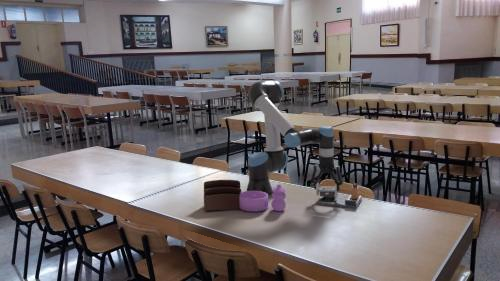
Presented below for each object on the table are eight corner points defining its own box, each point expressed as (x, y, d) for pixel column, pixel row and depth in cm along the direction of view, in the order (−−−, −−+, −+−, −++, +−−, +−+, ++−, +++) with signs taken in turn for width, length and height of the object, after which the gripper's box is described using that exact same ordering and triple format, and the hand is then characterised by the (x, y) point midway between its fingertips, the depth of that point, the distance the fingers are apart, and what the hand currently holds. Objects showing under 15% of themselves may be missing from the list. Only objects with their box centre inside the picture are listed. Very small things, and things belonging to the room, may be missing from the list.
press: (318, 204, 216) (318, 197, 216) (325, 196, 230) (325, 189, 229) (356, 208, 208) (356, 201, 207) (361, 199, 221) (361, 192, 220)
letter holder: (203, 204, 221) (203, 179, 219) (240, 203, 224) (240, 178, 221) (204, 211, 211) (203, 184, 209) (242, 209, 214) (242, 183, 212)
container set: (234, 209, 211) (234, 184, 209) (244, 200, 225) (245, 177, 223) (281, 215, 203) (282, 189, 201) (289, 205, 217) (289, 181, 215)
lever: (351, 198, 218) (351, 184, 217) (352, 196, 221) (352, 183, 220) (357, 199, 217) (357, 185, 216) (358, 197, 220) (358, 183, 218)
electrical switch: (317, 190, 220) (319, 183, 229) (318, 198, 222) (320, 191, 230) (335, 190, 218) (336, 183, 226) (335, 199, 219) (337, 192, 228)
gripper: (304, 155, 218) (304, 196, 222) (345, 158, 208) (346, 200, 212) (308, 153, 225) (309, 192, 228) (349, 155, 215) (349, 195, 219)
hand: (326, 195), depth 220 cm, fingers closed on electrical switch, 10 cm apart
